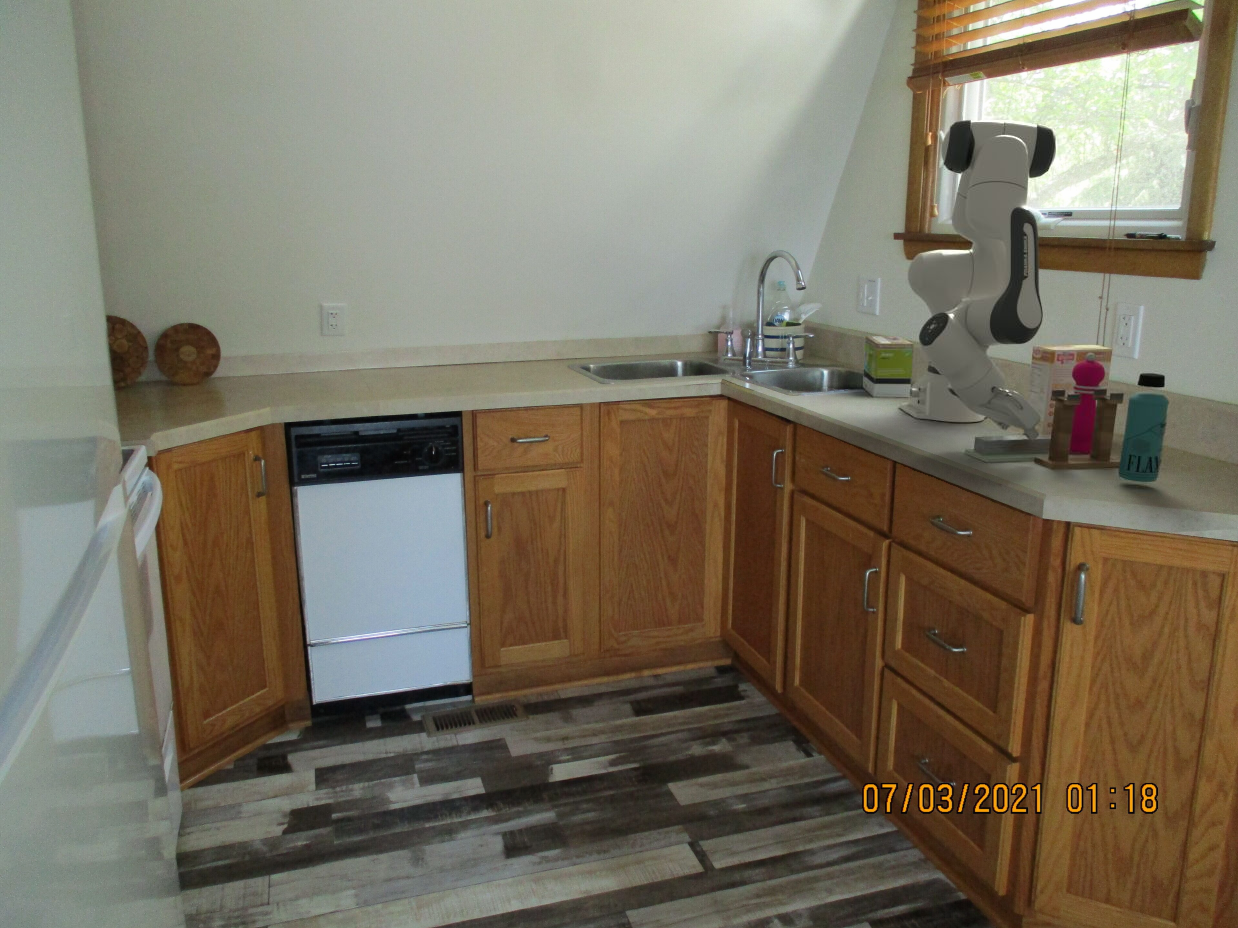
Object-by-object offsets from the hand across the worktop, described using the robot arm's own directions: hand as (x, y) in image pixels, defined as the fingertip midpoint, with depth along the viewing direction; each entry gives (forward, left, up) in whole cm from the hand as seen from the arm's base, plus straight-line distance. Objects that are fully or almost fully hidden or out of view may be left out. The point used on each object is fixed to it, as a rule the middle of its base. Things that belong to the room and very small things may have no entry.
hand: (1020, 432), depth 194 cm
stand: (+8, +8, -5) cm, 12 cm away
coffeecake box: (-17, +22, -5) cm, 28 cm away
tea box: (-74, +8, -5) cm, 75 cm away
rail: (0, -1, -4) cm, 4 cm away
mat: (0, -1, -5) cm, 5 cm away
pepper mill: (-3, +16, -5) cm, 17 cm away
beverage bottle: (+24, +8, -5) cm, 26 cm away
